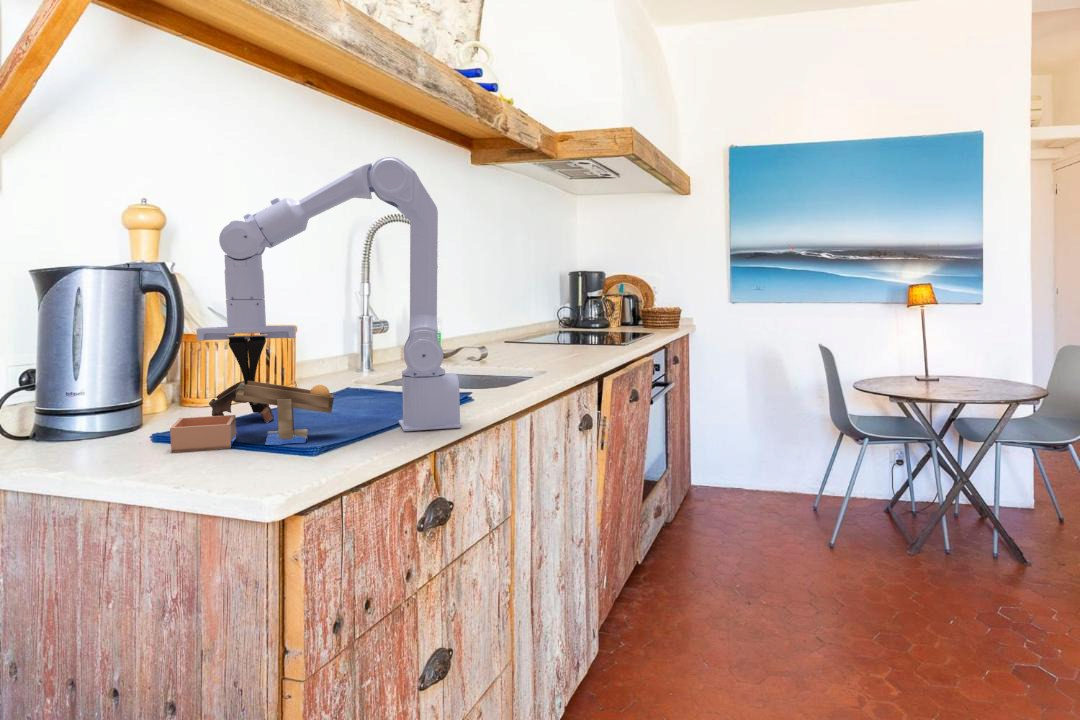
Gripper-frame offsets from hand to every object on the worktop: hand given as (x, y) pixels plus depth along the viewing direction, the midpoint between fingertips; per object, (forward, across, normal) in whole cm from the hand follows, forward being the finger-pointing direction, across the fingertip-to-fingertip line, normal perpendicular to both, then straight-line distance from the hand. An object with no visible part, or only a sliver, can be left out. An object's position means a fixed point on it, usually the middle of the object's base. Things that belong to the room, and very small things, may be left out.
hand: (249, 384), depth 116 cm
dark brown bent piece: (+8, +2, -12) cm, 15 cm away
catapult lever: (+2, -5, +3) cm, 6 cm away
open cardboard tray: (+8, +6, +6) cm, 12 cm away
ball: (+1, -11, +6) cm, 12 cm away
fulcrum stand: (+8, -6, +6) cm, 11 cm away
